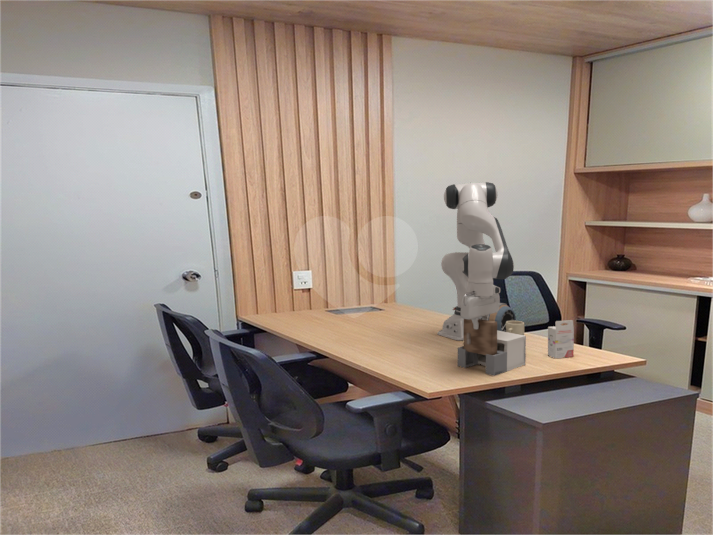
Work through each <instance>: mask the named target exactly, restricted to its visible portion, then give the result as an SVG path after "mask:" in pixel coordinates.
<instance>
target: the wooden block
mask: <svg viewBox="0 0 713 535" xmlns="http://www.w3.org/2000/svg"><path fill="white" fill-rule="evenodd" d="M478 323H479V324H480V329H474V328H473V322H472V320H471V319H469V320H468V319H464V340H463V346H464V349H466V351H468V352H472V353H477V354H482V355H486V354H489V355H496V354H497V322H495V321H489V320H482V319H479V320H478Z"/></svg>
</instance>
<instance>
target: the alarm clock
mask: <svg viewBox="0 0 713 535" xmlns="http://www.w3.org/2000/svg"><path fill="white" fill-rule="evenodd" d="M488 320H489V321H495V322H497V330H498V331H503V332H506V321H517V317H516V313H515V310H514V309H512V308H511V307H510V306H509V305H507V303H504V302H500V305H499V310H498V312H496V313H492V314H489V318H488Z"/></svg>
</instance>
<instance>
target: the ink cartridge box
mask: <svg viewBox="0 0 713 535" xmlns="http://www.w3.org/2000/svg"><path fill="white" fill-rule="evenodd" d="M563 324H564V325H563ZM574 335H575V328H574V319H570V320H566V319H565V320H556V321H555V326H554V325H553V326H548V327H547V356H548V355H549V356H548V357H550V356H551V358H553V357H554V358H553V359H555V358H557V359H563V358H562V357H566V358H573V357H574V347H575V346H574V343H575V341H574V340H575V337H574Z"/></svg>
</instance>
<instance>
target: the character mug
mask: <svg viewBox="0 0 713 535" xmlns="http://www.w3.org/2000/svg"><path fill="white" fill-rule="evenodd" d="M506 332H509V333H514V334H519V335H525V322H524V321H520V320H516V321H506Z"/></svg>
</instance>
